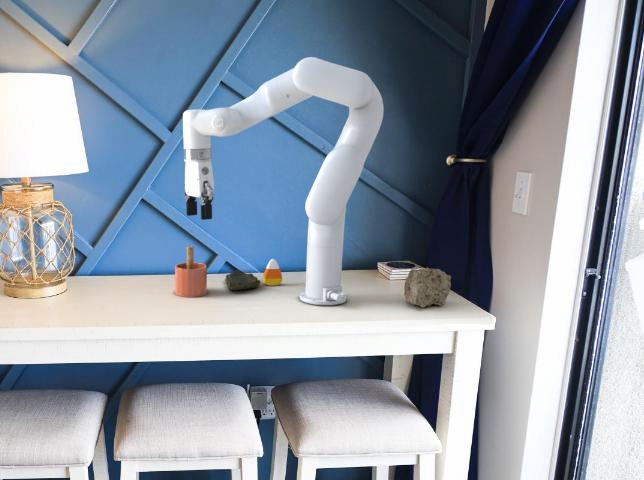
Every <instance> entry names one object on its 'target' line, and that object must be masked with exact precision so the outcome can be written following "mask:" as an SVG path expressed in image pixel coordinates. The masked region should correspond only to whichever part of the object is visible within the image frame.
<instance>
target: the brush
mask: <svg viewBox="0 0 644 480" xmlns="http://www.w3.org/2000/svg"><path fill="white" fill-rule="evenodd" d="M194 252H195V248H194V246H193V245H187V246H186V263H187V269H194V263H195V261H194V260H195V259H194V257H195V256H194V255H195V253H194Z"/></svg>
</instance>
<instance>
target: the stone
mask: <svg viewBox="0 0 644 480" xmlns="http://www.w3.org/2000/svg"><path fill="white" fill-rule="evenodd" d="M224 281H225V283H226V285H227V286H226V287H227V288H228V290H229V291H238V290H247V289H251V288H253V289H254V288H255V289H257V288H259V287H260V285H261V280H260V279H258V277H257V276H254V274H253V273H251V272H250V273H246V272H244V271H242V270H240V269H236V270H234V271H233V272H231V273H229V274H226V275H225V278H224Z"/></svg>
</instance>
